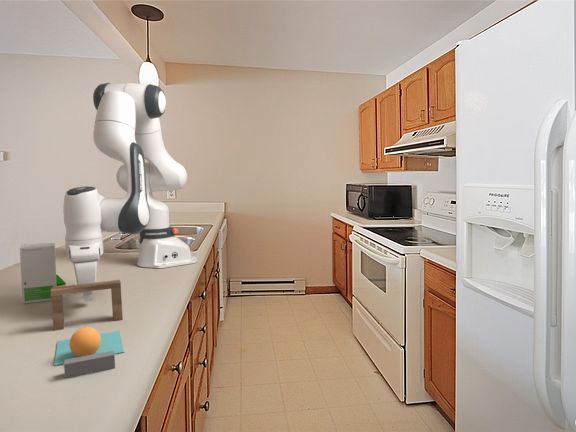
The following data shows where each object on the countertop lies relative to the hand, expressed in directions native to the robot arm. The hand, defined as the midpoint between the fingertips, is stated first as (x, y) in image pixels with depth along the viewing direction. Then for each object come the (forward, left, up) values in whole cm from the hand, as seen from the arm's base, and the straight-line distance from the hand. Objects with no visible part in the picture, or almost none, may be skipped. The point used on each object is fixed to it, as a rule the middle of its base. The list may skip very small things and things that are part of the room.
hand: (88, 299), depth 108 cm
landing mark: (0, +29, -2) cm, 29 cm away
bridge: (0, +14, -2) cm, 14 cm away
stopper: (0, +40, -2) cm, 40 cm away
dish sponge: (+11, -27, -2) cm, 29 cm away
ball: (+1, +33, +1) cm, 33 cm away
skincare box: (+12, -13, -2) cm, 18 cm away
